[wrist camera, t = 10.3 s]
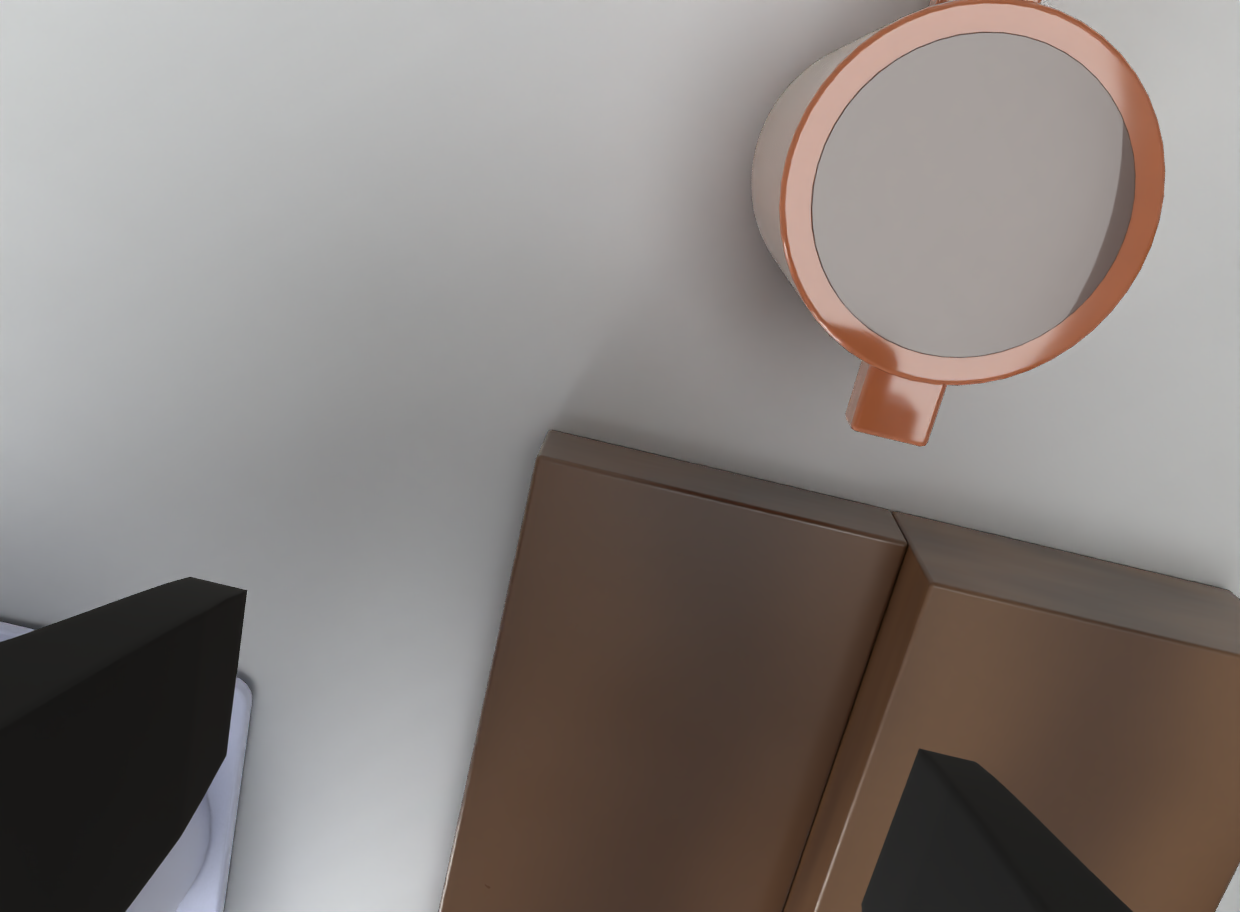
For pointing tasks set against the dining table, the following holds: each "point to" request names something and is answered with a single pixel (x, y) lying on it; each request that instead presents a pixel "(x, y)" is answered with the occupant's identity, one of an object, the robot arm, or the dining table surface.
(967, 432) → the dining table surface
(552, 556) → the brown slab
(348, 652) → the dining table surface
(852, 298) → the double-handled copper mug
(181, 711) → the robot arm
